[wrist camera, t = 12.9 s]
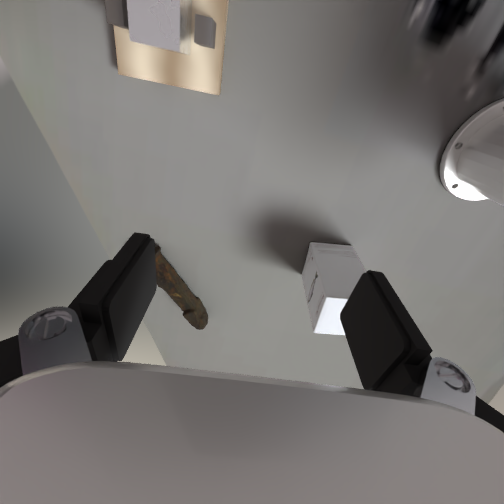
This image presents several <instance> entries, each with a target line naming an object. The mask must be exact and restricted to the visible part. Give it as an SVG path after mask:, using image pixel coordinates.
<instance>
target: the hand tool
mask: <svg viewBox="0 0 504 504" xmlns="http://www.w3.org/2000/svg"><path fill="white" fill-rule="evenodd" d="M160 250H161V248H160V247H159V246H158V247H155V262H156V282H157V285H158V287H160V288H163V289H164V291H166V293H167V294H168V295H169V296H170V297H171V298H172V299H173V300H174V301H175V302H176V304H177V305H178V306H179V307H180V308H181V309H182V310H183V311H184V313H183V316H184V317H185V319H187V320H188V321H189V323H190V324H191V325H192V326H194V327H195V328H196V329H199V330H200V329H204V327H205V326H206V325H207V323H208V314H207V312H206V309H205V307H204V306H203V304H202V302H201V300H200V299H199V298H197V297H195V296H194V295H193V294H192V292H191V291H190V290H189V288H188V287H187V285H186V284H185V283H184V282H183V281H182V280H181V278H180V277H179V276H178V274H177V273H176V271H175V270H174V268H173V267H172V266H170V264H169V263H168V262H167V261H166V259H165V258H164V257H163V256H162V254H161V252H160Z"/></svg>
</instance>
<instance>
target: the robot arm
mask: <svg viewBox="0 0 504 504" xmlns="http://www.w3.org/2000/svg"><path fill="white" fill-rule="evenodd" d="M440 178H441V181H442V184H443V186H444V187H445V188H446V189H447V191H448V192H450V193H451V194H453V195H454V196H456V197H458V198H461V199H465V200H484V199H490V200H492V201H494V202H495V203H497V204H499V205H501V206H503V207H504V98H503V99H501V100H498V101H495V102H493V103H491V104H489V105H488V106H486V107H484V108H482V109H481V110H479V111H478V112H477V113H475V114H474V115H473V116H471V117H470V118H469V119H468V120H467V121H466V122H465V123H464V124H463V125H462V126H461V127H460V128H459V129H458V130H457V132H456V133H455V134H454V135H453V137H452V138H451V140H450V141H449V143H448V145H447V147H446V149H445V151H444V153H443V156H442V159H441V163H440ZM156 287H157V283H156V262H155V242H154V239H152V238H150V235H148V234H142V233H134V234H133V235H132V236H131V237H130V238H129V240H128V241H127V242H126V243H125V245H124V246H123V247H122V248H121V250H120V251H119V252H118V253H117V255H116V256H115V257H114V258H113V260H108V261H106V262H105V263H104V264H103V265H102V267H101V268H100V269H99V270H98V271H97V273H96V274H95V275H94V276H93V277H92V279H91V280H90V281H89V282H88V283H87V285H86V286H85V287H84V288H83V289H82V291H81V292H80V293H79V294H78V295H77V297H76V298H75V299H74V300H73V301H72V303H71V304H70V305H69V306H68V307H63V306H62V307H51V308H46V309H44V310H41V311H39V312H37V313H35V314H33V315H32V316H30V317H29V318H28V319H26V320H25V321H24V322H23V323H22V325H21V327H20V328H19V333H18V335H16V336H14V337H11V338H9V339H6V340H3V341H1V342H0V504H504V415H502V414H501V413H500V412H498V411H497V410H495V409H494V408H492V407H491V406H490V405H488V404H487V403H485V402H484V401H483V400H481V399H480V398H478V397H477V396H476V388H475V385H474V383H473V381H472V379H471V378H470V377H469V375H468V374H467V373H466V372H465V371H464V370H463V369H462V368H461V367H459V366H458V365H456V364H455V363H453V362H451V361H450V360H448V359H445V358H441V357H435V358H432V357H431V356H430V353H431V352H432V349H431V347H430V346H429V344H428V343H427V341H426V340H425V338H424V336H423V335H422V333H421V332H420V330H419V329H418V327H417V326H416V324H415V322H414V321H413V319H412V318H411V316H410V315H409V313H408V311H407V310H406V308H405V307H404V305H403V304H402V302H401V300H400V299H399V297H398V296H397V294H396V293H395V291H394V289H393V288H392V286H391V285H390V283H389V282H388V280H387V278H386V277H385V275H384V274H383V273H382V272H377V271H371V270H369V271H367V272H366V273H363V274H362V275H361V277H360V279H359V281H358V282H357V284H356V286H355V288H354V290H353V291H352V293H351V295H350V297H349V298H348V300H347V302H346V304H345V306H344V307H343V309H342V311H341V313H340V320H341V323H342V326H343V329H344V332H345V335H346V338H347V341H348V344H349V347H350V350H351V353H352V356H353V359H354V362H355V365H356V368H357V371H358V374H359V377H360V380H361V382H362V385H363V388H364V389H365V390H364V389H356V388H348V387H340V386H332V385H324V384H316V383H308V382H300V381H292V380H283V379H275V378H267V377H258V376H250V375H241V374H233V373H224V372H215V371H207V370H198V369H189V368H180V367H171V366H161V365H151V364H141V363H130V362H117V361H122V359H123V358H124V356H125V354H126V352H127V350H128V348H129V346H130V344H131V342H132V340H133V337H134V335H135V333H136V331H137V329H138V327H139V325H140V323H141V321H142V319H143V317H144V315H145V313H146V311H147V308H148V306H149V304H150V302H151V300H152V298H153V296H154V294H155V291H156Z"/></svg>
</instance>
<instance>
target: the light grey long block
mask: <svg viewBox="0 0 504 504" xmlns="http://www.w3.org/2000/svg"><path fill="white" fill-rule="evenodd" d="M127 11H128V24H129V37H130V41H132V42H136V43H139V44H142V45H146V46H150V47H154V48H159V49H163V50H168V51H172V52H177V53H181V54H186V55H190V49H191V16H192V0H127Z"/></svg>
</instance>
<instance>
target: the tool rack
mask: <svg viewBox="0 0 504 504" xmlns="http://www.w3.org/2000/svg"><path fill="white" fill-rule="evenodd" d="M228 1H229V0H192V16H191V49H190V55H186V54H181V53H177V52H172V51H168V50H163V49H159V48H154V47H150V46H146V45H142V44H139V43H136V42H132V41H130V37H129V24H128V11H127V0H105V8H106V17H107V23H109V24H112V25H114V35H115V44H116V54H117V64H118V74H120V75H125V76H130V77H134V78H139V79H144V80H149V81H153V82H158V83H163V84H168V85H172V86H177V87H182V88H187V89H191V90H196V91H201V92H206V93H210V94H215V95H220V90H221V79H222V68H223V57H224V46H225V35H226V23H227V12H228Z"/></svg>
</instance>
